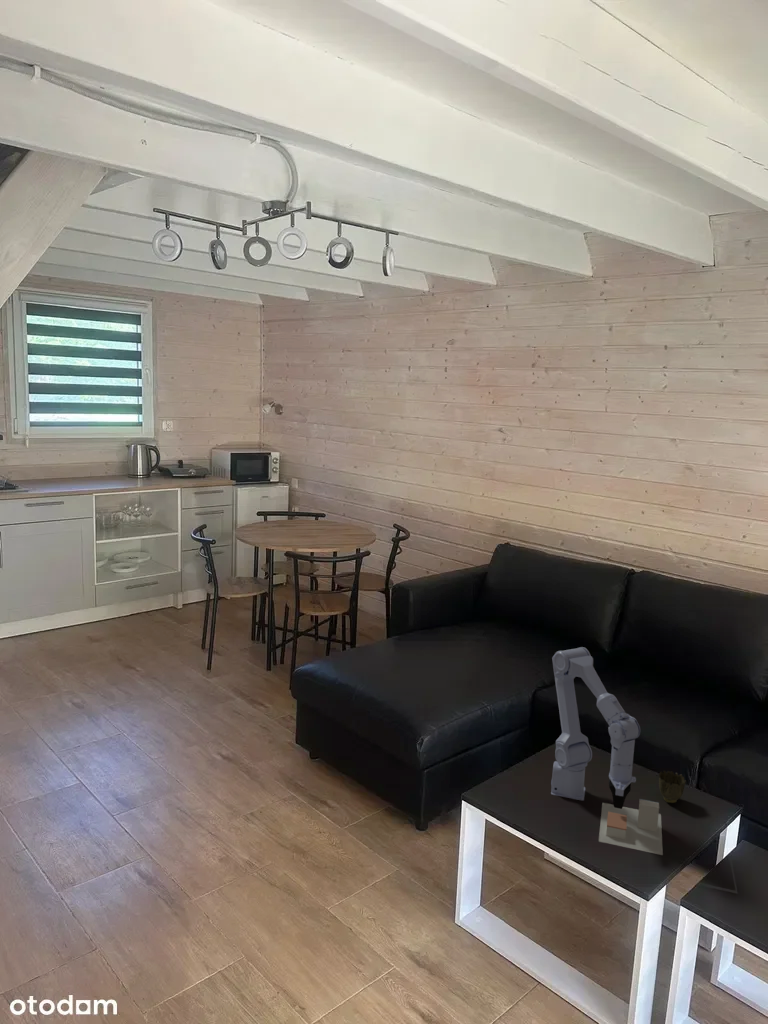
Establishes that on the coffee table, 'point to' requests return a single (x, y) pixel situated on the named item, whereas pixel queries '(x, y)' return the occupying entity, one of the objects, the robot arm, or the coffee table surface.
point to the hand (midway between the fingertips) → (618, 806)
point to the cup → (671, 786)
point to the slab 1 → (616, 825)
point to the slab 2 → (648, 815)
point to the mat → (632, 831)
